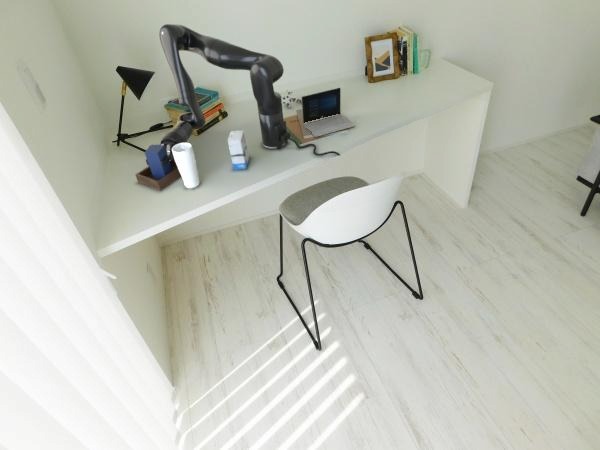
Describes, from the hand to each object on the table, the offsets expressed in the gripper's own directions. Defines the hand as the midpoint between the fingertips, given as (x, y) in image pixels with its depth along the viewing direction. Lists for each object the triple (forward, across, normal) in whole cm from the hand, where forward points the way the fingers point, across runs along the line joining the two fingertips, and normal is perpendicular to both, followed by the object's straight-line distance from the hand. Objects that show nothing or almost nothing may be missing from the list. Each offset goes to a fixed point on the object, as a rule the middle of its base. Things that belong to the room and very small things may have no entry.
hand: (154, 163), depth 140 cm
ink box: (-14, +26, +7) cm, 31 cm away
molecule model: (-67, +35, +8) cm, 76 cm away
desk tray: (-3, 0, +7) cm, 8 cm away
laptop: (-46, +55, +7) cm, 72 cm away
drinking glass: (+1, +13, +7) cm, 15 cm away
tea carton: (-3, 0, +7) cm, 7 cm away
